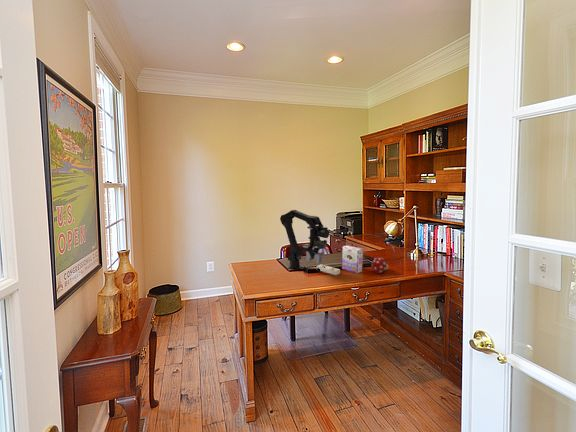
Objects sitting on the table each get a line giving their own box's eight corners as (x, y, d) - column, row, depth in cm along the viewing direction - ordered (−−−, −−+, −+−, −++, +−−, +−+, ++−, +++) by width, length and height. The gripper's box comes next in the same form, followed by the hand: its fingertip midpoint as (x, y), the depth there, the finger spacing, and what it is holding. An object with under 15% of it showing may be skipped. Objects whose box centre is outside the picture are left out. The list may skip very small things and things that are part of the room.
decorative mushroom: (388, 256, 229) (376, 252, 219) (397, 268, 221) (385, 264, 212) (377, 266, 233) (365, 263, 223) (386, 278, 225) (374, 275, 216)
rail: (316, 270, 225) (316, 266, 224) (321, 268, 228) (321, 264, 228) (335, 275, 214) (336, 271, 214) (340, 273, 218) (340, 269, 217)
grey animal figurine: (306, 260, 219) (306, 251, 218) (308, 259, 220) (308, 250, 219) (319, 263, 211) (319, 254, 210) (321, 262, 213) (321, 254, 212)
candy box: (362, 271, 222) (363, 248, 219) (357, 273, 218) (358, 250, 215) (346, 267, 232) (347, 244, 229) (341, 268, 228) (342, 246, 225)
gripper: (315, 240, 201) (314, 264, 203) (332, 235, 214) (331, 257, 217) (301, 237, 208) (301, 260, 211) (319, 232, 222) (318, 254, 224)
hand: (313, 258), depth 215 cm, fingers closed on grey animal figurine, 3 cm apart
